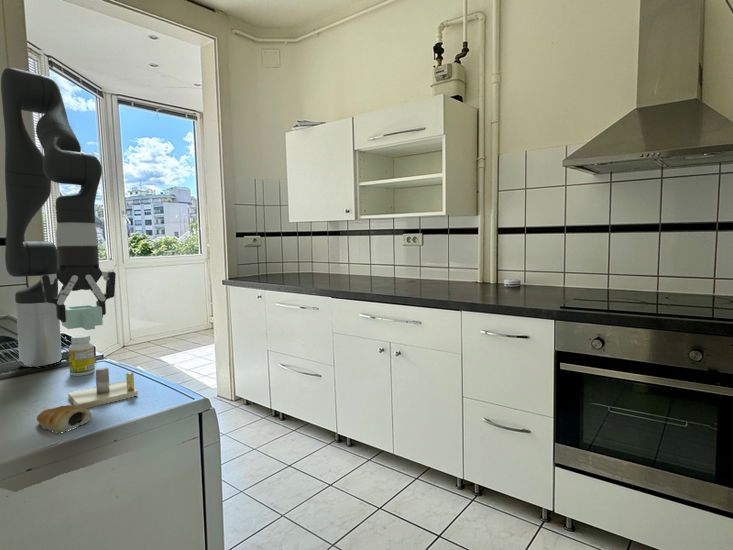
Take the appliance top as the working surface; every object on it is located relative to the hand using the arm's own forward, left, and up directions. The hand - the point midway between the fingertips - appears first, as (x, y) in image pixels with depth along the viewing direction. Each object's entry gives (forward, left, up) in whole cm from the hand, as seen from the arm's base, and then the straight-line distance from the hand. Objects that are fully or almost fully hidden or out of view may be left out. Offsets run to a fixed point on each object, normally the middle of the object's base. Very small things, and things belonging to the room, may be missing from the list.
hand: (82, 319), depth 96 cm
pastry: (+17, -7, -17) cm, 25 cm away
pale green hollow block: (+2, 0, -1) cm, 2 cm away
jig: (+7, +2, -16) cm, 18 cm away
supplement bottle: (-16, +3, -17) cm, 23 cm away
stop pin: (+10, +6, -15) cm, 19 cm away
